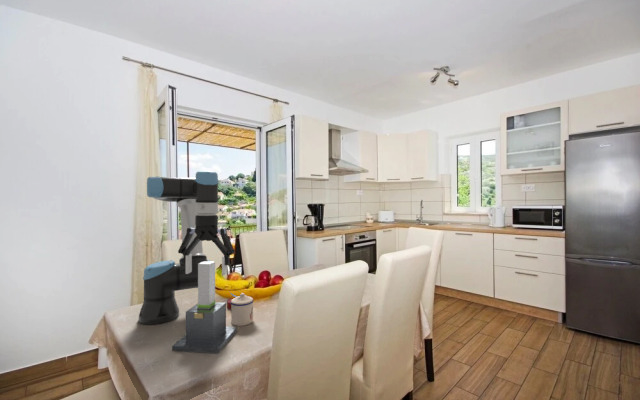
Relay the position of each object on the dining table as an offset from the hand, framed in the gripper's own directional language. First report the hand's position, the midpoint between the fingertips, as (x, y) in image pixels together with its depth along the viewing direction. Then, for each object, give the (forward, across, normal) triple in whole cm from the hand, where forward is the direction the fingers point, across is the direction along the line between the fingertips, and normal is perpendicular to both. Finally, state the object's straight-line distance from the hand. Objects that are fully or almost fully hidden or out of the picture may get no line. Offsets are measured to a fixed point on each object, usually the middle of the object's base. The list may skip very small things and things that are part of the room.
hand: (206, 273), depth 104 cm
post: (+16, 0, 0) cm, 16 cm away
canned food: (+25, -2, +34) cm, 42 cm away
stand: (+24, 0, 0) cm, 24 cm away
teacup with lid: (+24, +6, +18) cm, 31 cm away
